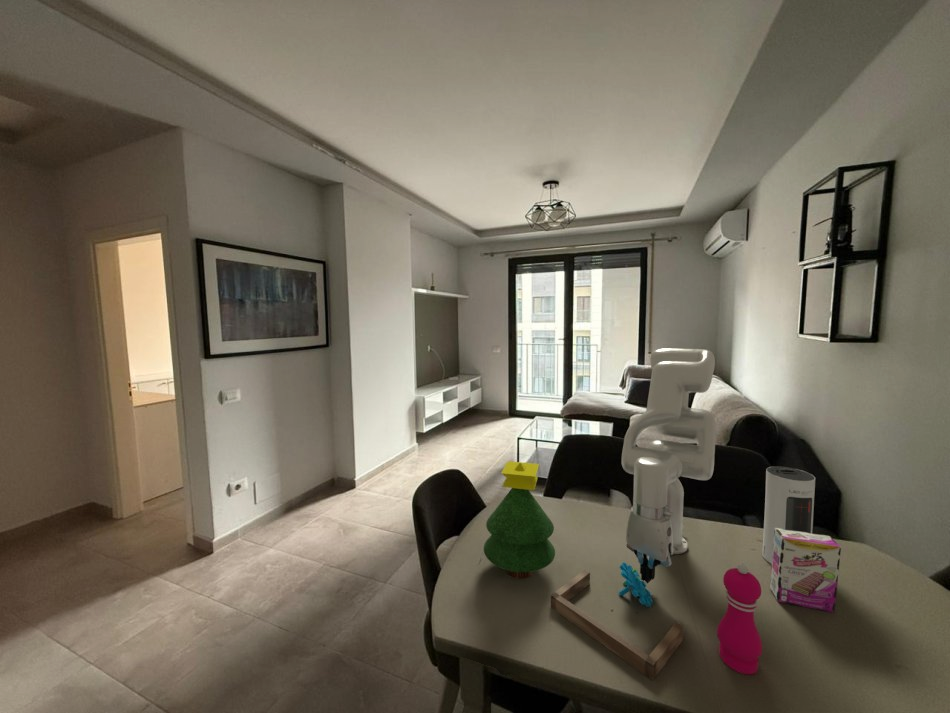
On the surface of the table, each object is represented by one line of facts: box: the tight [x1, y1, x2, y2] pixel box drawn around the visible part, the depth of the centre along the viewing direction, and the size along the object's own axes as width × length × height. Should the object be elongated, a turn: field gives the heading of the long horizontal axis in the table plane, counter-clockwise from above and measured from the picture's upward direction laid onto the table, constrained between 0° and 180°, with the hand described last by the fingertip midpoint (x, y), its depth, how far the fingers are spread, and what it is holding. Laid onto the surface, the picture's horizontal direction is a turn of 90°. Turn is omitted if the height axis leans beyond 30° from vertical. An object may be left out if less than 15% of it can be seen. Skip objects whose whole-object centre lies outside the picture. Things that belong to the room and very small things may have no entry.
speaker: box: [761, 465, 816, 565], centre depth 103 cm, size 11×10×26 cm
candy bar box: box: [769, 528, 842, 613], centre depth 88 cm, size 11×5×16 cm, turn 71°
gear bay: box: [550, 569, 685, 681], centre depth 83 cm, size 14×24×3 cm, turn 40°
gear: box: [618, 561, 654, 608], centre depth 91 cm, size 11×6×10 cm
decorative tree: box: [483, 460, 556, 580], centre depth 100 cm, size 19×19×30 cm
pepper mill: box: [716, 563, 763, 675], centre depth 73 cm, size 7×7×20 cm
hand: (647, 578), depth 93 cm, fingers closed
